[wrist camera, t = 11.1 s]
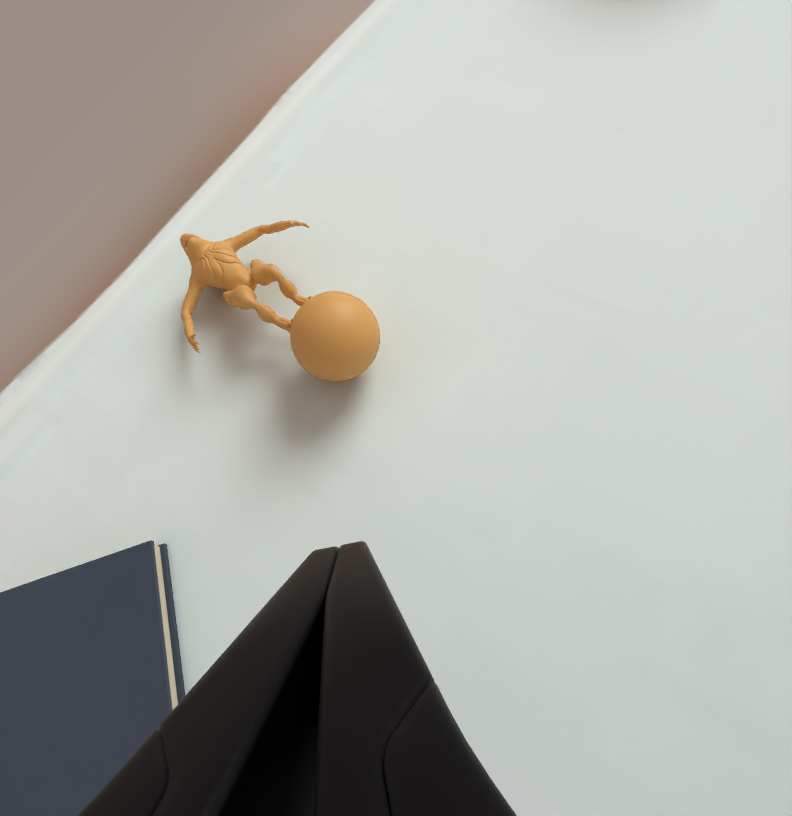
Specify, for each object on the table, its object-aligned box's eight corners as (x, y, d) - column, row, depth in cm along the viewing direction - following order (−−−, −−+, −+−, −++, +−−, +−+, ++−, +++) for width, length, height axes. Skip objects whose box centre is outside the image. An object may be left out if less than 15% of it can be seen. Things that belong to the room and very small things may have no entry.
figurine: (305, 428, 20) (80, 260, 22) (324, 449, 26) (146, 316, 28) (429, 271, 22) (211, 124, 23) (420, 325, 28) (247, 205, 29)
